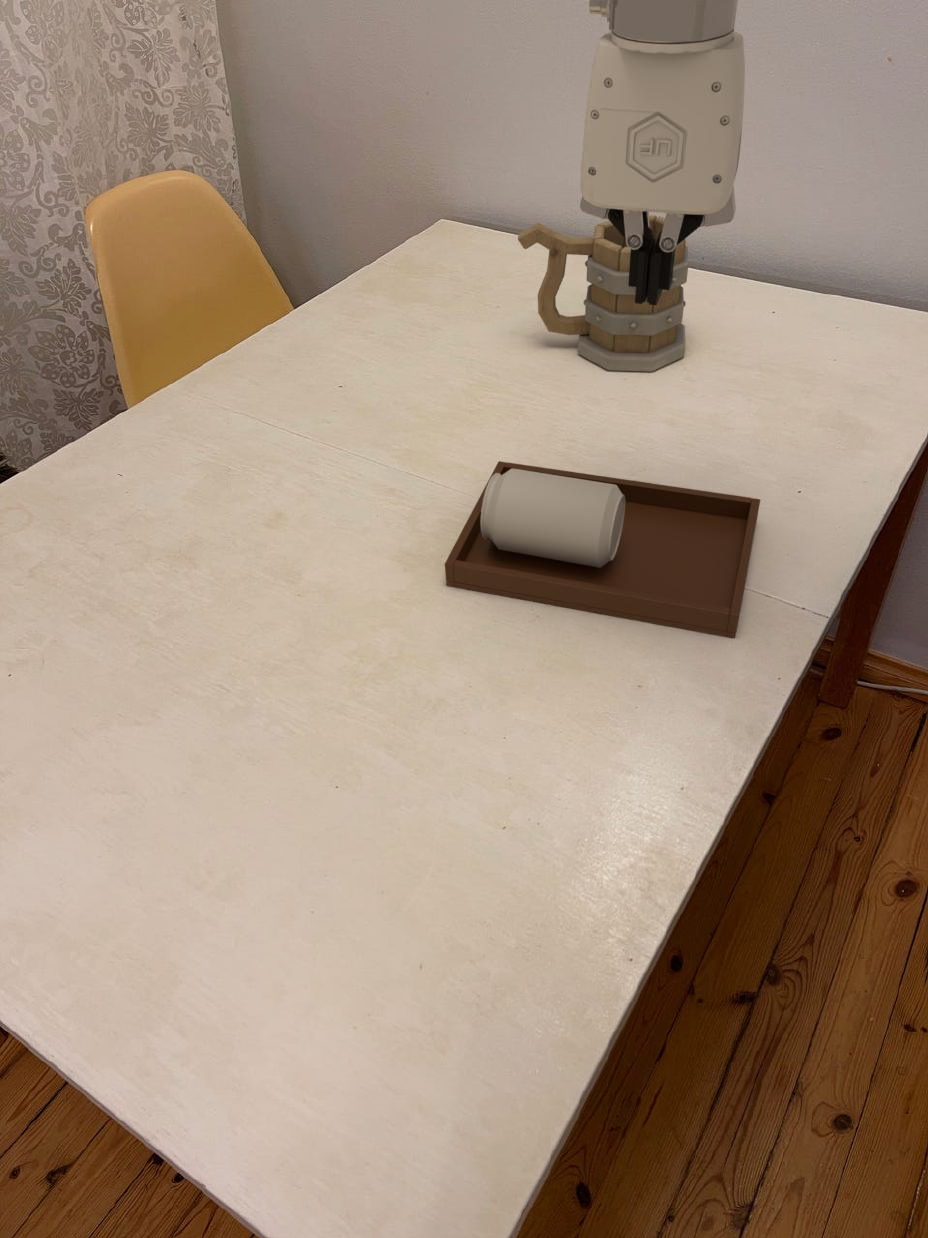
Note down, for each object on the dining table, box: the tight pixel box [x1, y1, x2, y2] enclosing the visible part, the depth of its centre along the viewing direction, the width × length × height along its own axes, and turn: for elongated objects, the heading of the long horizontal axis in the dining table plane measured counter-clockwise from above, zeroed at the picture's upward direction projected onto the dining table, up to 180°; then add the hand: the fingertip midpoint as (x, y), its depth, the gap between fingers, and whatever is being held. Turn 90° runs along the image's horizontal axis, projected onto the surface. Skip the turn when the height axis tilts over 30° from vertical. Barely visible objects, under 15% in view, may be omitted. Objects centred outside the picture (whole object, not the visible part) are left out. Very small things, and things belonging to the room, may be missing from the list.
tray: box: [444, 460, 761, 639], centre depth 89 cm, size 26×17×3 cm, turn 72°
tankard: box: [517, 215, 691, 373], centre depth 113 cm, size 20×13×15 cm, turn 82°
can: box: [480, 468, 625, 568], centre depth 87 cm, size 8×8×12 cm
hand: (649, 296), depth 72 cm, fingers closed
